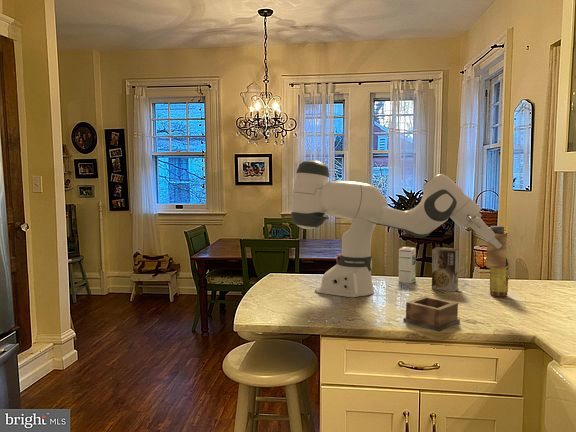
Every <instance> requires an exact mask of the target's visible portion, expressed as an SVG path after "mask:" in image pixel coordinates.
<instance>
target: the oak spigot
mask: <svg viewBox="0 0 576 432" xmlns="http://www.w3.org/2000/svg"><path fill="white" fill-rule="evenodd" d="M489 228H490V229H491V230H492V231H493V232H494V233H495V236H494V237H495V238H496V239H497V240H498V241H499V242H500V243H501V244H502V247H500V248H499V249H497V248H496V247H495V246H494V245H493V244H492V243H490V242H489V241H488V242H486V257H485V258H486V259H485V260H486V261H485V266H486V267H487V268H488V269H490V268H496V269H505V265H506V258H507V244H508V243H507V242H508V241H507V240H508V233H506V232H505V226H504V225H503V226H502V225H490V227H489Z"/></svg>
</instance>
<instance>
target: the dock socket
mask: <svg viewBox="0 0 576 432" xmlns="http://www.w3.org/2000/svg"><path fill="white" fill-rule="evenodd" d="M458 308H459V303H458V302H453V301H450V300H445V299H440V298H436V297H432V296H427V295H424V296H420V297H418V298H416V299H415V298H414V299H413V300H409V301H406V303H405V317H403V322H405V323H408V324H412V325H415V326H419V327H422V328H426V329H428V330H429V329H430V330H433V331H436V332H442V331H444V330H446V329H448V328H450V327H453V326H454V325H457V324H460V323H461V319H460V318H458V313H459V311H458V310H459V309H458Z"/></svg>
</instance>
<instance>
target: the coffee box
mask: <svg viewBox="0 0 576 432" xmlns="http://www.w3.org/2000/svg"><path fill="white" fill-rule="evenodd" d="M459 251H460V249H459V248H451V247H450V248H449V247H434V248H433V249H432V252H431V253H432V254H431V255H432V256H431V257H432V259H431V263H432V264H431V269H432V270H431V289H432V290H438V291H439V290H440V291H445V292H446V291H447V292H456V291H457V290H458V289H459V264H460V263H459V261H460V259H459V254H460V253H459Z"/></svg>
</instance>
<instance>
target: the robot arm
mask: <svg viewBox="0 0 576 432" xmlns="http://www.w3.org/2000/svg"><path fill="white" fill-rule="evenodd" d="M295 176H296V177H295V180H294V184H293V190H292V195H291V196H292V197H291V198H292V199H291V200H292V204H291V205H292V207H291V208H292V209H291V212H290V213H291V214H290V215H291V216H290V217H291V223H292V224H293V225H296V226H297V227H299V228H301V229H304V230H312V229H315V228H316V229H317V228H319V227H321V226H322V225H323V224H324V223H325V221H326V220H329V218H330V217H335V218H339V219H345V220H352V221H351V224H350V227H349V229H347V230H346V231H344V233H342V236H341V253H338V255H336V260H335V261H336V262H335V263H336V264H335V265H334V266H332V267H331V268H330V269H328V270H326V271H325V273H324V274H323V275H322V278H321V283H320V284H317V285H316V287H315V292H316V293H319V294H324V295H332V296H338V297H347V298H356V297H363V296H364V297H365V296H369V295H373V294H374V293H375V289H374V286H373V281H372V269H373V258H372V257H373V256H372V255H371V253H372V251H371V250H372V237H373V234H374V233H373V232H374V230H375V227H376V226H377V225H380V226H383V227H388V228H392V229H396V230H401V231H403V232H405V233H407V234H409V235H411V236H413V237H415V238H420V239H421V238H425V237H428V236H429V235H430V234H432V233H433V232H434V230H436V229H437V228H439V227H440V226H441V225H444V224H445V223H446V222H447V221H448V219H449V218H450V219H451V220H452V221H453V222H454V223H455V224H456V226H458V227H459V228H462V227H463V226H464V227H465V228H466V229H471V230H473V231H474V232H475V233H476V234H477V235H478V236H479V237H480V238H481V239H482V240H483V241H484V242H486V243H487V242H488V241H489V242H490V243H492V244H493V245H494V246H495V247H496V248H497V249H499V248H500V247H502V244H501V243H500V242H499V241H498V240H497V239H496V238H495V237H494V236H495V233H494V232H493V231H492V230H491V229H490V227H489V226H488V225H487V224H486V223H485V221H484V220H483V219H482V218H481V217H482V216H483V215H482V214H481V210H482V207H480V206H479V204H478V203H476V202H475V201H474V200H473V199H472V198H471V197H470V196H468V195H467V194H465V193H464V192H463V190H462V188H461V187H460V186H459V185H458V184H457V183H456V182H455V181H454V180H452V179H451V178H450V177H449V176H447V175H446V174H443V173H437V174H436V175H434V176H432V177H431V178H429V179H428V180H427V181H426V182H425V183H424V184H423V186H422V188H423V191H422V192H423V193H422V197H421V199H420V202H419V203H418V204H417V205H416V206H414V207H413V208H411V209H408V210H400V209H396V208H392V207H388V206H389V203H388V201H387V198H386V197H385V195H383V194H382V192H381V191H380V189H379V188H378V187H376V186H375V185H373V184H369V183H365V182H359V181H352V180H351V181H350V180H332V181H331V180H330V181H329V178H330V169H329V167H328V166H327V165H326V163H323V162H321V161H319V160H316V159H315V160H314V159H313V160H311V159H310V160H305V161H302V162H301V163H299V164H298V166H297V170H296V175H295ZM327 216H329V217H327Z"/></svg>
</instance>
